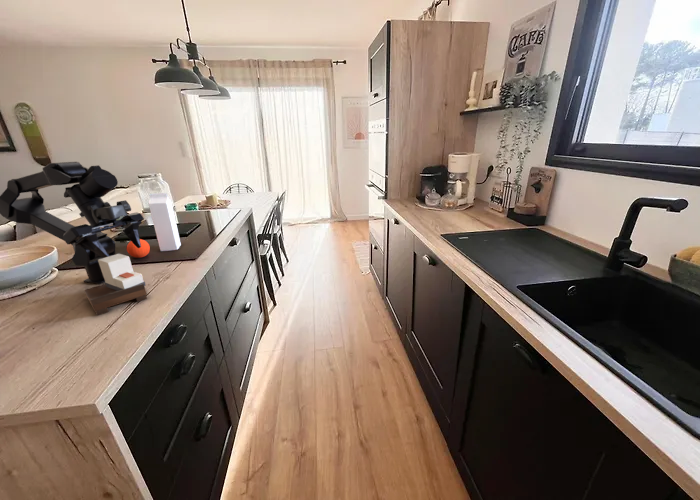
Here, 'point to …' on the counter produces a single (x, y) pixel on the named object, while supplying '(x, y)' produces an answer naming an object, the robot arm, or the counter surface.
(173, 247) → the milk
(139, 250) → the clementine
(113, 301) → the brown wooden stand
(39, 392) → the counter surface
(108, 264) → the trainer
